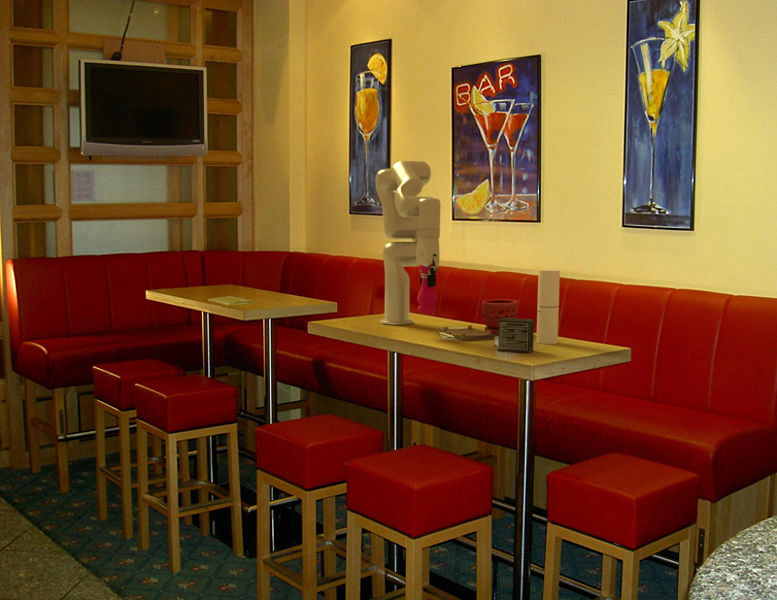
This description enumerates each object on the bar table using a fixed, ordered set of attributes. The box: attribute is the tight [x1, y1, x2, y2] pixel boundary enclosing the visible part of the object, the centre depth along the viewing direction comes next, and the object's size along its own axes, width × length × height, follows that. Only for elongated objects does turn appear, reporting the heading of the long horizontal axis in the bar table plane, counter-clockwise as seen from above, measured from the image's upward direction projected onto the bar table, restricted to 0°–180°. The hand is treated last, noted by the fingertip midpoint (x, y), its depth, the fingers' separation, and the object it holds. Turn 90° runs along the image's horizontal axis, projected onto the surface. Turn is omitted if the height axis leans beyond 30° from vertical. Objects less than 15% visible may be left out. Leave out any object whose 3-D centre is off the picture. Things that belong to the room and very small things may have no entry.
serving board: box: [439, 324, 496, 342], centre depth 333 cm, size 17×13×3 cm
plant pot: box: [481, 298, 519, 336], centre depth 342 cm, size 13×13×12 cm
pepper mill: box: [416, 264, 439, 314], centre depth 329 cm, size 7×7×20 cm
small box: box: [497, 318, 535, 354], centre depth 304 cm, size 11×6×10 cm, turn 69°
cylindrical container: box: [536, 268, 561, 345], centre depth 321 cm, size 7×7×25 cm
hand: (427, 284), depth 329 cm, fingers closed on pepper mill, 5 cm apart
